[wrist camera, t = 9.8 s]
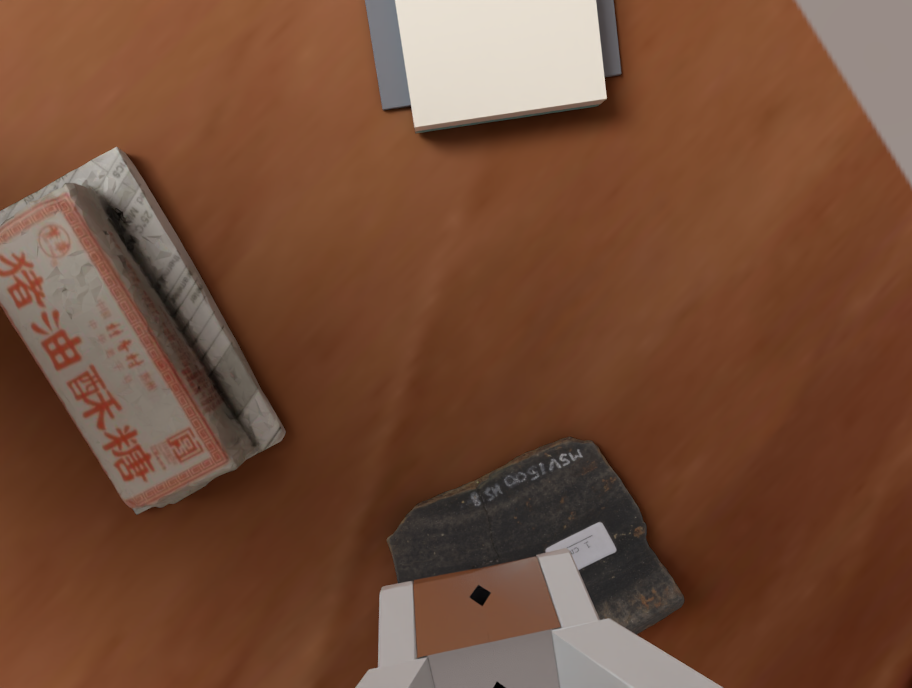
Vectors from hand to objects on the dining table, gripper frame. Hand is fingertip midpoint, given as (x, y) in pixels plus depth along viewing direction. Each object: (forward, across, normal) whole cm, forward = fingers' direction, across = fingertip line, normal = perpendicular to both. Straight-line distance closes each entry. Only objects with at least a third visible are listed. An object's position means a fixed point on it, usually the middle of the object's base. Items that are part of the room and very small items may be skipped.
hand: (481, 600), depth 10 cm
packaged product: (+28, +16, +2) cm, 33 cm away
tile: (+27, -6, -7) cm, 29 cm away
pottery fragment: (+24, -3, +18) cm, 31 cm away
